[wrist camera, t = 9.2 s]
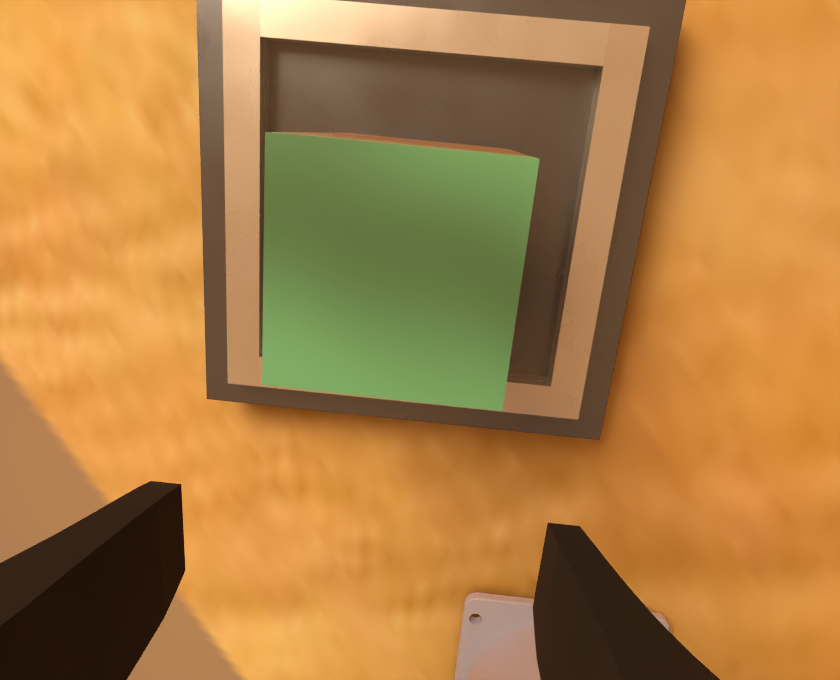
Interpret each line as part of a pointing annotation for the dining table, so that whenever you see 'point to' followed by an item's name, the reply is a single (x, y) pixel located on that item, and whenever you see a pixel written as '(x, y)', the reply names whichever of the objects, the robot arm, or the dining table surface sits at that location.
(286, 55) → the gray square tray
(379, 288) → the brown and green block
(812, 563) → the dining table surface
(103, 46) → the dining table surface
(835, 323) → the dining table surface
